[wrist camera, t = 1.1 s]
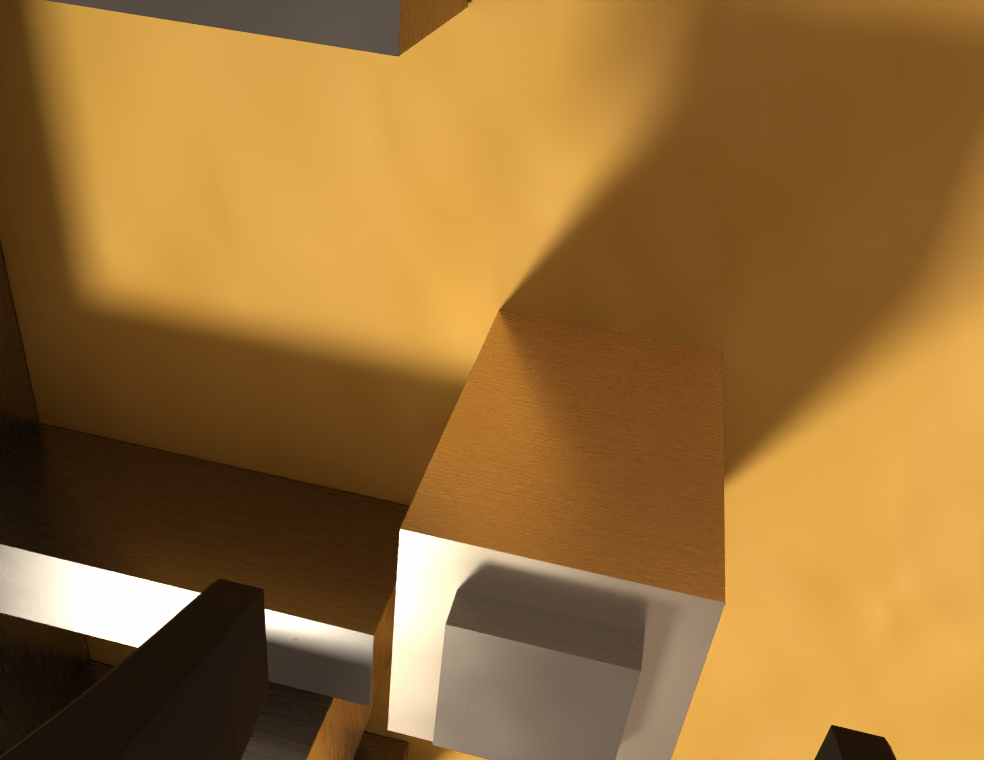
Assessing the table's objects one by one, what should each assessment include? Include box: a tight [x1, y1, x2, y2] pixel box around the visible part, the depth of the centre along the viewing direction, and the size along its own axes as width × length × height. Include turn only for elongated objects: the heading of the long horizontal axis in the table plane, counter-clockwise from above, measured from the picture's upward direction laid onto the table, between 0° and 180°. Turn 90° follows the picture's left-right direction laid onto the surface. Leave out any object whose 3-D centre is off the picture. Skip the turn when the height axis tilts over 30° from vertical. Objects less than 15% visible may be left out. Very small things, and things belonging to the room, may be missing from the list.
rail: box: [0, 0, 468, 760], centre depth 17 cm, size 22×10×4 cm, turn 175°
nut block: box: [388, 310, 725, 760], centre depth 14 cm, size 4×4×7 cm
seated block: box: [241, 681, 373, 760], centre depth 19 cm, size 4×4×6 cm
